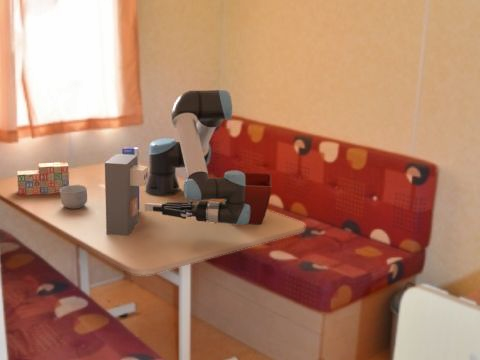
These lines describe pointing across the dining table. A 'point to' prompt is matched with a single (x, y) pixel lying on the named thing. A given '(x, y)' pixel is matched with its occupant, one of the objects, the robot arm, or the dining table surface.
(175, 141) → the robot arm
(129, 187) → the button post
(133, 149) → the walkman
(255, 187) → the plant pot
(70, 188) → the teacup
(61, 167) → the stack of blocks
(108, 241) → the dining table surface
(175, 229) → the dining table surface
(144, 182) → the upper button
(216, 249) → the dining table surface
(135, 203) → the lower button
